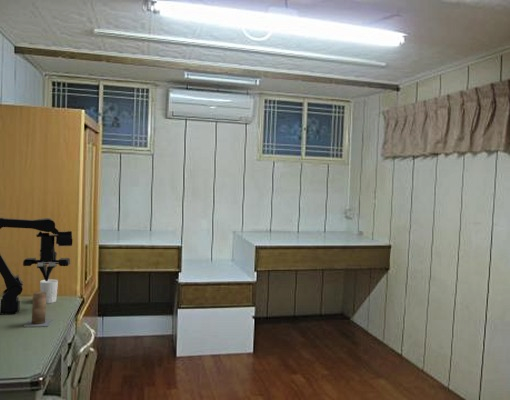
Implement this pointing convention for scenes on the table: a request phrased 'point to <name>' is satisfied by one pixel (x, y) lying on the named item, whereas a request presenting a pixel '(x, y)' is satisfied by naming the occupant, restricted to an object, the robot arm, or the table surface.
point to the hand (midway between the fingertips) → (46, 280)
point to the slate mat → (46, 324)
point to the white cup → (49, 289)
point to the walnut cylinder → (39, 307)
